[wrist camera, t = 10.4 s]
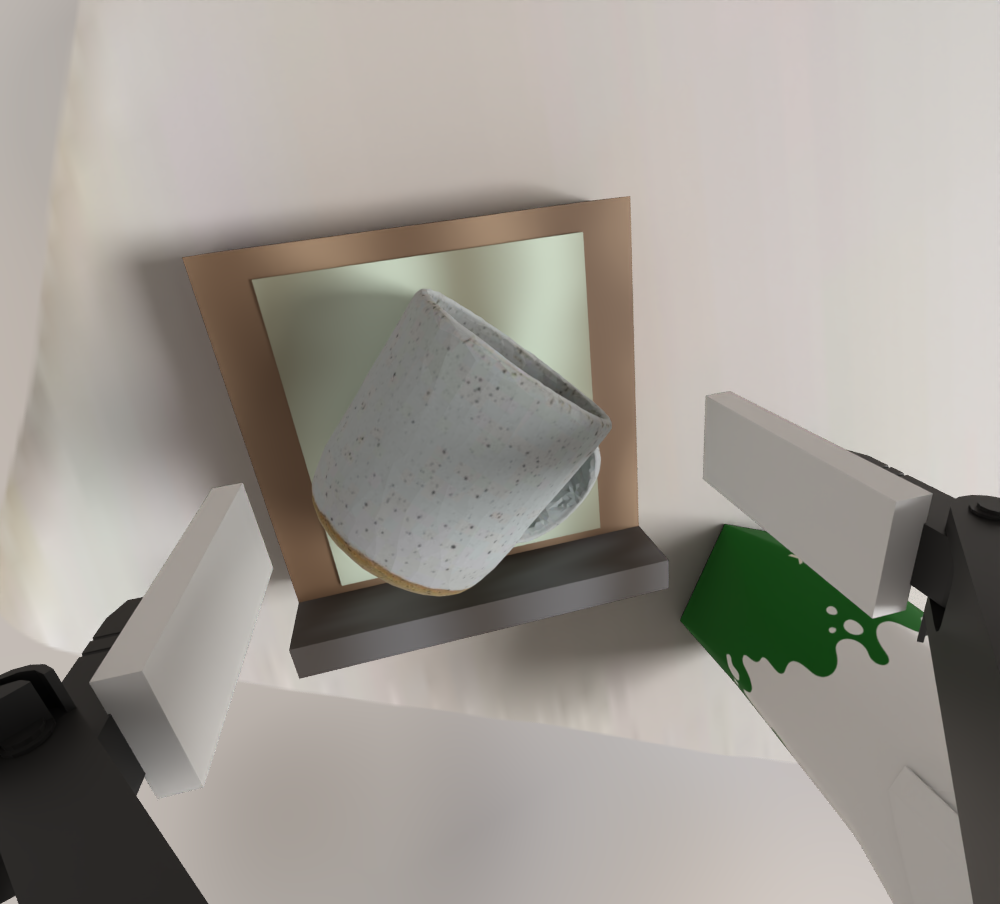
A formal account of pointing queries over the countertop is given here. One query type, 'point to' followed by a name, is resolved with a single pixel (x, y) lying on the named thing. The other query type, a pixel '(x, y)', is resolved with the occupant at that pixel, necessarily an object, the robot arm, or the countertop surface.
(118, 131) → the countertop surface
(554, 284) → the step
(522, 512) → the ceramic mug
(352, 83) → the countertop surface
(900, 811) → the milk carton
